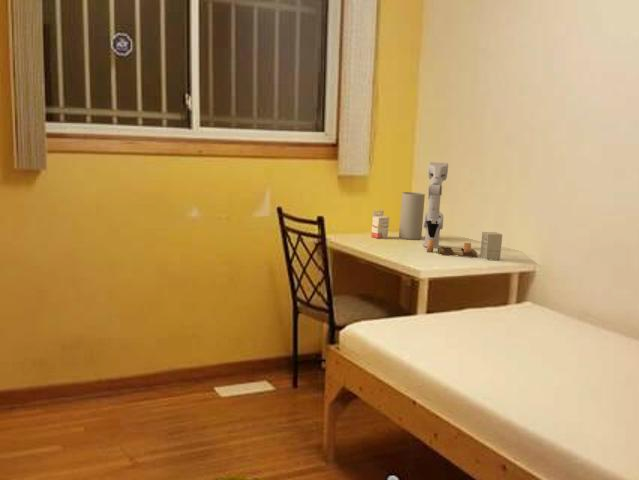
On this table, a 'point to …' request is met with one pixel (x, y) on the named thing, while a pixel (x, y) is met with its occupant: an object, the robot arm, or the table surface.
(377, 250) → the table surface
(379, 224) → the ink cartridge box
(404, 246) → the table surface
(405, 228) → the cylinder vase
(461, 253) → the wooden grid frame
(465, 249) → the pin
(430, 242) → the loose pin
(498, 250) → the supplement box
